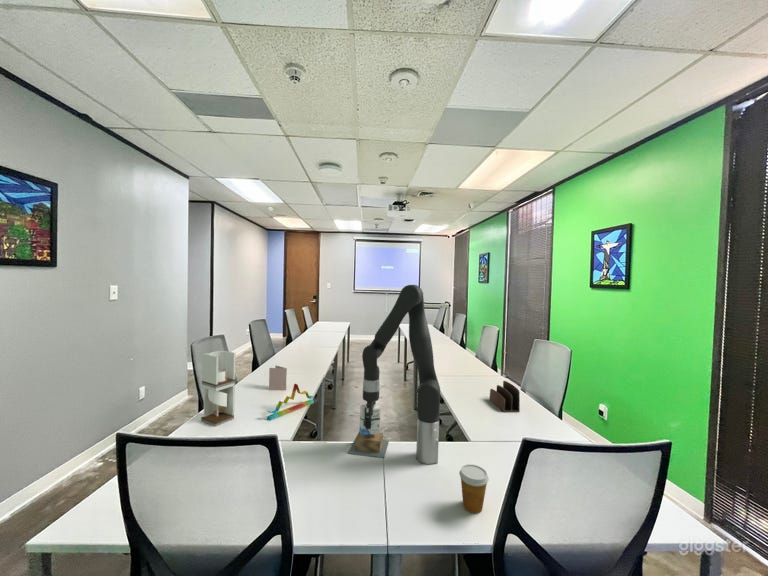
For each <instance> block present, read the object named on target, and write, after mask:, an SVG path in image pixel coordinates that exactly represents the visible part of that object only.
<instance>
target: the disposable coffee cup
mask: <svg viewBox="0 0 768 576" xmlns="http://www.w3.org/2000/svg"><path fill="white" fill-rule="evenodd" d="M458 475H459V477H460V482H461V494H462V495H461V497H462V506H463V508H464V509H465V510H466V511H467V512H469V513H472V514H479V513H481V512H482V511H483V508H484V501H485V495H486V490H487V484H488V482H489V479H490V477H489V475H488V473H487V470H486V469H485V468H483V467H481V466H479V465H477V464H471V463H469V464H467V463H466V464H464V465H462V466H461V469H460V470H459V473H458Z"/></svg>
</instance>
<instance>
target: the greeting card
mask: <svg viewBox="0 0 768 576" xmlns="http://www.w3.org/2000/svg"><path fill="white" fill-rule="evenodd" d="M268 369H269V371H268V373H269V375H268V376H269V377H268V391H287V370H288V369H287V367H283V366H280V365H277V364H276V365H275V366H274V367H269V368H268Z"/></svg>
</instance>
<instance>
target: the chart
mask: <svg viewBox="0 0 768 576" xmlns="http://www.w3.org/2000/svg"><path fill="white" fill-rule="evenodd" d="M296 392H297V394H300V395H305V396H306V398H307V400H306V401H303V402H300V403H297V404H295V405H293V406H289V407H287V408H284V409H282V410H280V408H281V406H282V405H283V404H285V405H286V404H288V402H289V400H292V401H294V400H295V396H296ZM312 398H314V395H310V394H309V393H308V391H307V390H303V391H301V390H300V387H299V385H298V384H297V383H294V384H293V387H292V392H291V395H290V396H288V395H287V396H286V397H285V399H284V400H283V401H281V400H279V401H278V403H277V405H276V407H275V409H273V410H272V411H270V410H267V412H268V413H271V414H270V415H267V416H266V419H267V420H268V421H273V420H276V419H278V418H281V417H283V416H285V415H287V414H290V413H294V412H296V411H297V410H301V409H303V408H305V407H308V406H310V405H313V404H314V403H315V401H314V399H312Z"/></svg>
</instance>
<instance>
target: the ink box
mask: <svg viewBox="0 0 768 576" xmlns="http://www.w3.org/2000/svg"><path fill="white" fill-rule="evenodd" d="M365 406H366V404H361V405H360V412H359V431H360V433H361V435H371V434H380V433H381V409H382V408H381V407H380V405H379V403H376V405H375V407H374V409H373V415H372V418H371V419H372V420H371V429H366V421H365V420H364V419H365ZM371 413H372V411H371ZM367 418H369V416H367Z"/></svg>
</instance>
